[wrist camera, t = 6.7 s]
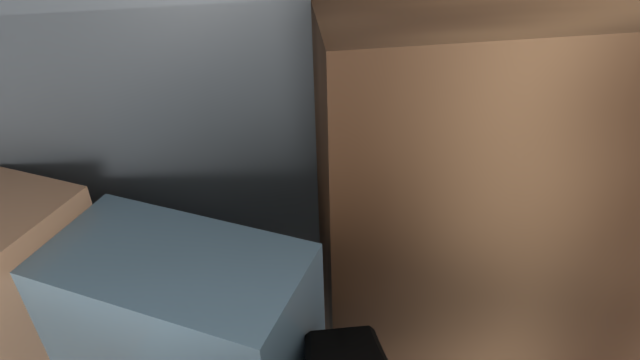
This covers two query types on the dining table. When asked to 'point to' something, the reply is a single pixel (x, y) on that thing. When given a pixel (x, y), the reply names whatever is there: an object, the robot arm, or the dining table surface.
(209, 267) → the pale blue block
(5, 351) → the tile sand
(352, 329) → the robot arm
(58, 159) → the tray
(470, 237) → the bench board
